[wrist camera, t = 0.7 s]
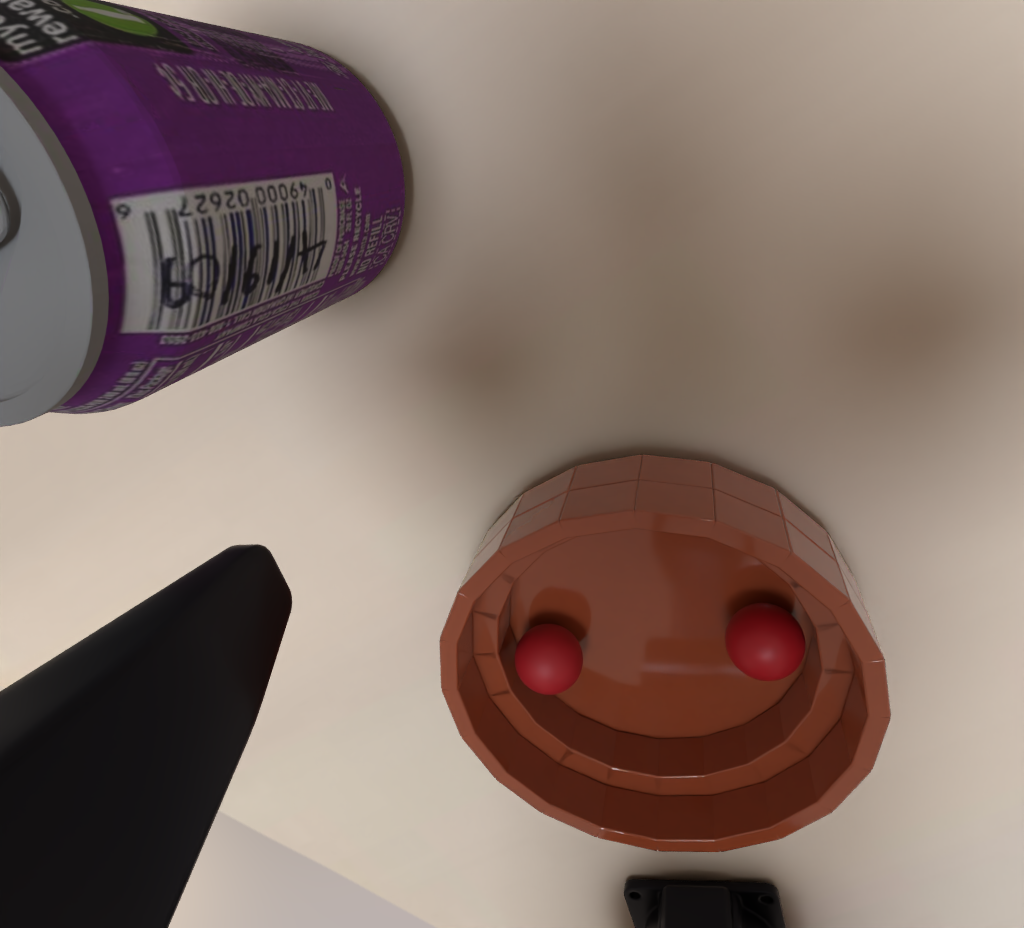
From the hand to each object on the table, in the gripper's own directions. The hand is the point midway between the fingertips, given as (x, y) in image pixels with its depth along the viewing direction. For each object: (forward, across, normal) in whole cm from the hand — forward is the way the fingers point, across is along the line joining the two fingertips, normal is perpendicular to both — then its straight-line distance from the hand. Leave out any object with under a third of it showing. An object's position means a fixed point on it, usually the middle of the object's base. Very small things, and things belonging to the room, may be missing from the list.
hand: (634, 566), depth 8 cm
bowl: (+12, +1, +14) cm, 18 cm away
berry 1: (+10, +5, +14) cm, 18 cm away
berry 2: (+10, -2, +13) cm, 16 cm away
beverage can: (+15, +10, -2) cm, 18 cm away
